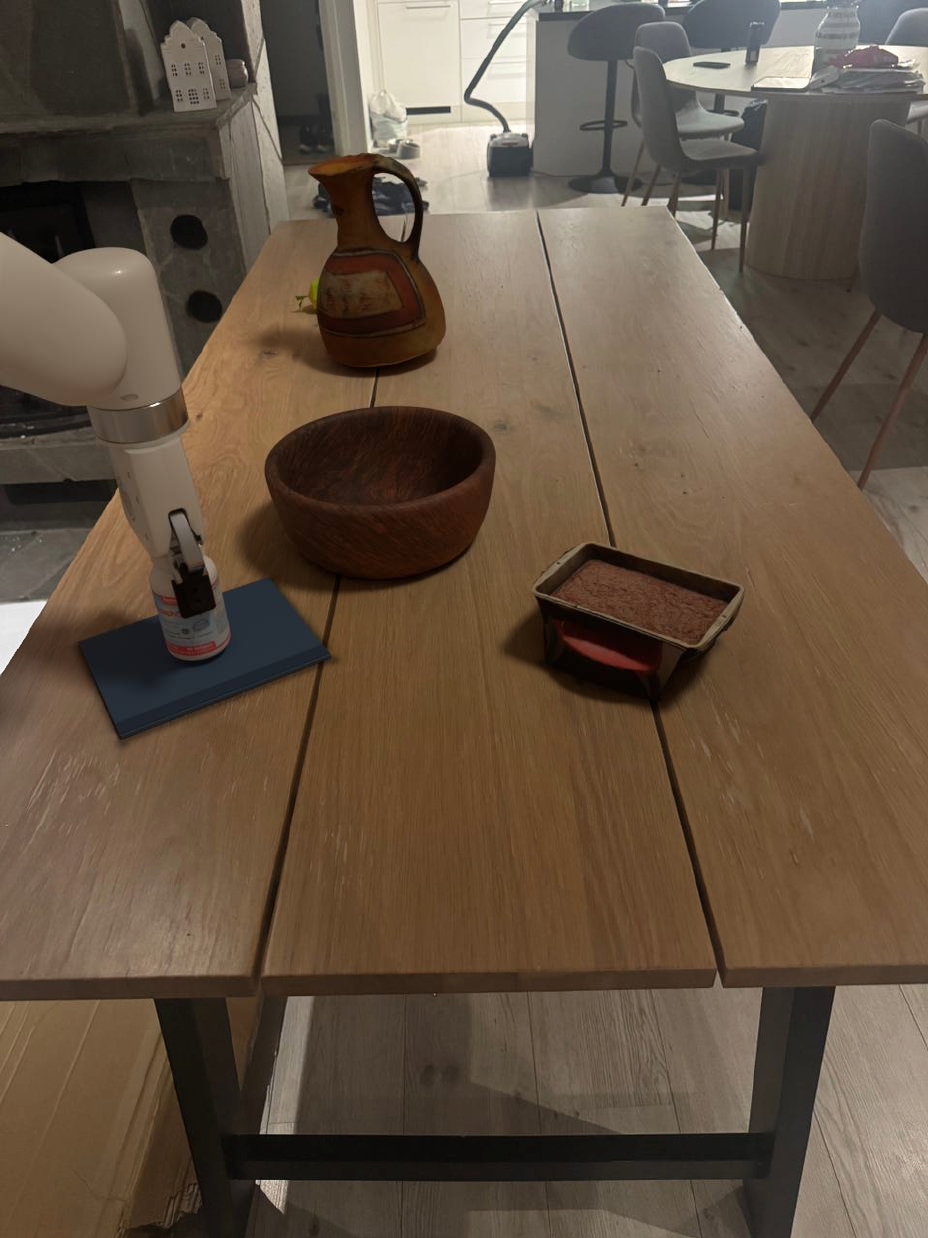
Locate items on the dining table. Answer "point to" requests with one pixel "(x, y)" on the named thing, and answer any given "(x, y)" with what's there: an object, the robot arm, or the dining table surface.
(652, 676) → the baking dish
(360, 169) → the ceramic pitcher
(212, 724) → the dining table surface
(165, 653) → the book
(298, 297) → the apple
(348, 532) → the wooden bowl
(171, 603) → the pill bottle
